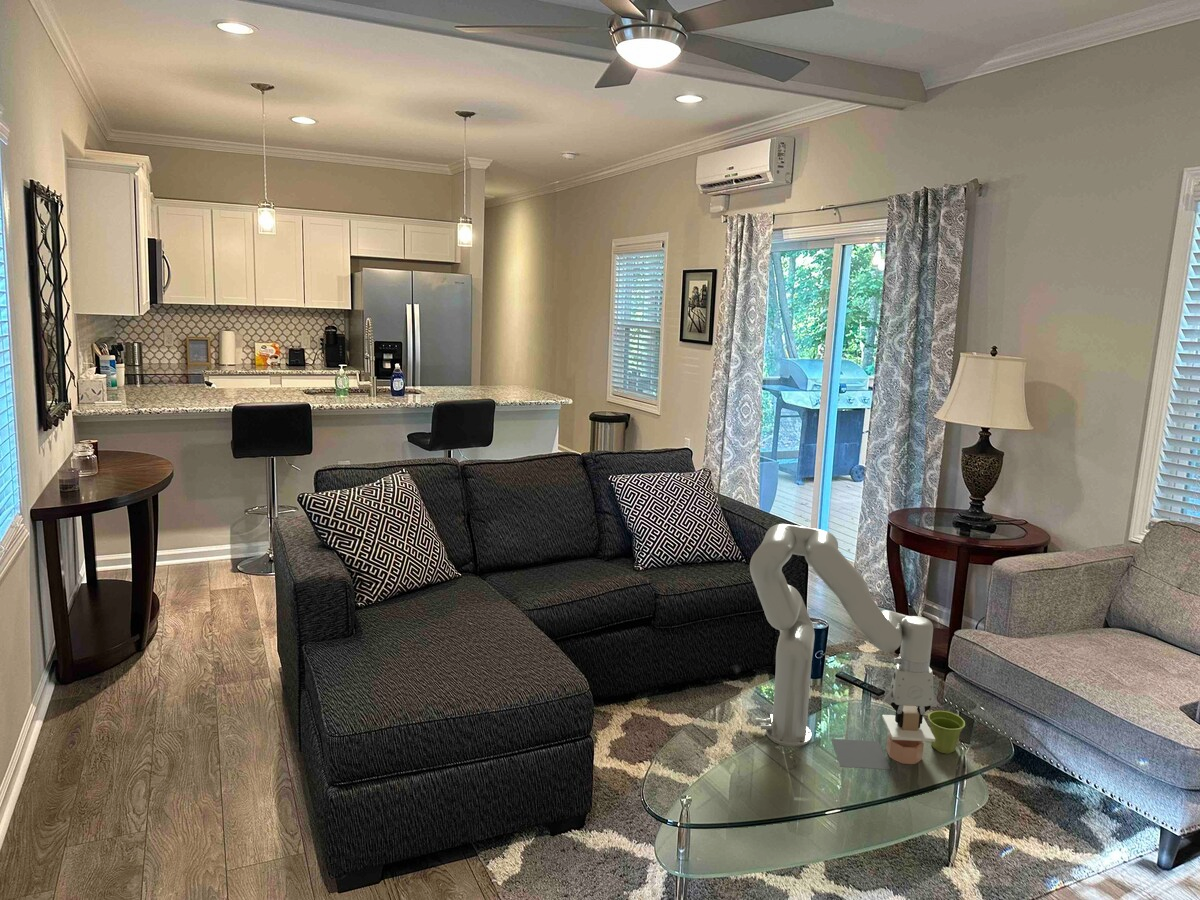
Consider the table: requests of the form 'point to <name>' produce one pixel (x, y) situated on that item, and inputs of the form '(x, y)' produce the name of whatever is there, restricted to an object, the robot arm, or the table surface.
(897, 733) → the lid
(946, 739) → the plant pot
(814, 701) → the table surface
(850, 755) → the mat
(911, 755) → the bowl
